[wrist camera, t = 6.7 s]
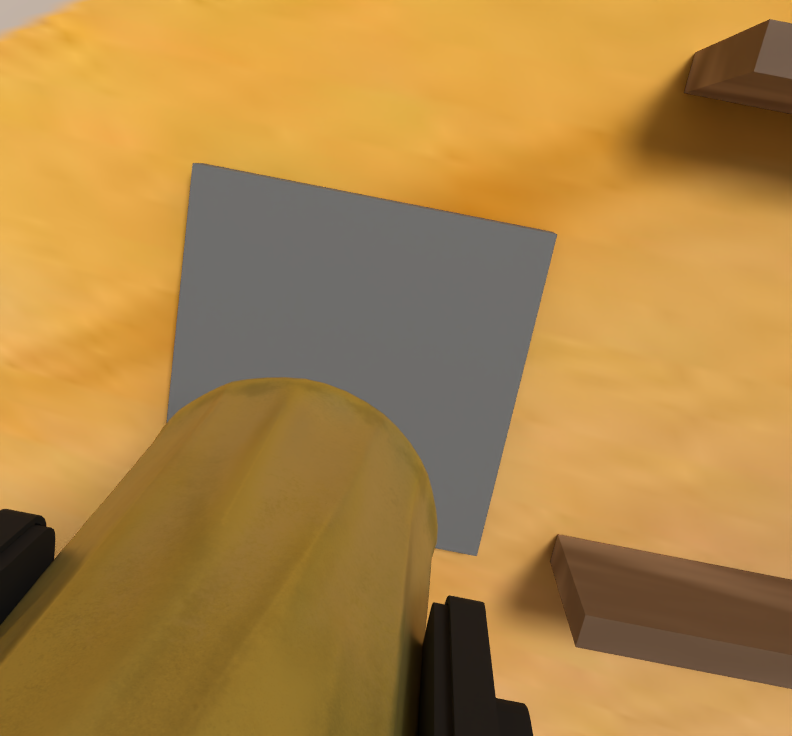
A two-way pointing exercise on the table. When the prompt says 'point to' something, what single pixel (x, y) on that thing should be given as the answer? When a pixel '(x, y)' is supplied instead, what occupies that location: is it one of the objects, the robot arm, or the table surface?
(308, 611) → the vase
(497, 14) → the table surface
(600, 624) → the open wooden frame
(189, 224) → the rubber mat
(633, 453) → the table surface
